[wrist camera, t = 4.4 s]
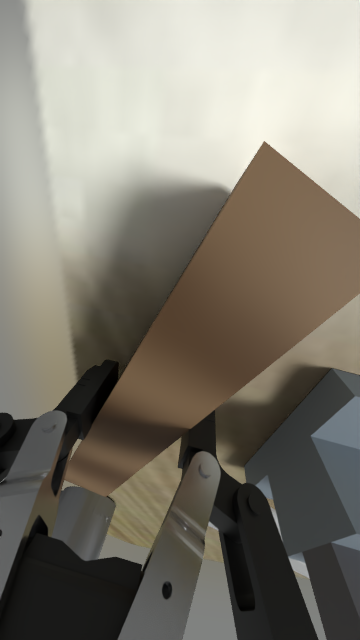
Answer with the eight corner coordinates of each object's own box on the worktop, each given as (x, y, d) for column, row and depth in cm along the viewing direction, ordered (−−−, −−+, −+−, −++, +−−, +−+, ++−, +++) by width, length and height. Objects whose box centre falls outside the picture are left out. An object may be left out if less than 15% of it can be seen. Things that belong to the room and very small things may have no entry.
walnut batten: (126, 444, 18) (105, 497, 14) (89, 427, 17) (59, 477, 14) (313, 241, 7) (405, 256, 4) (236, 183, 7) (264, 141, 3)
